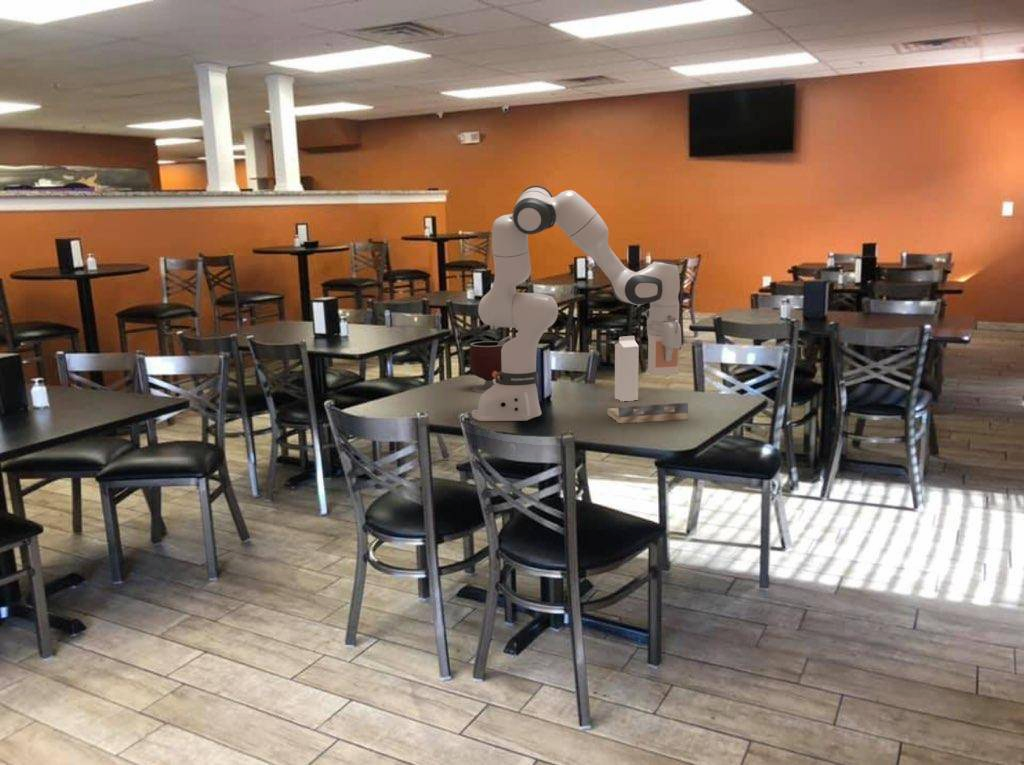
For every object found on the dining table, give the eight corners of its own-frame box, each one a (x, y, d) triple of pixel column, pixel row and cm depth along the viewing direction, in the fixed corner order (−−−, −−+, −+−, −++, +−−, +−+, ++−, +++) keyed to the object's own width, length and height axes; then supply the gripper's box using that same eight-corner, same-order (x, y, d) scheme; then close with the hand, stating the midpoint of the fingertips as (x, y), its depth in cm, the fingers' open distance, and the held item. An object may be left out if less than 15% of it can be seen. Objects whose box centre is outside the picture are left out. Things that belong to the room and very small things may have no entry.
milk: (614, 399, 291) (614, 335, 286) (630, 397, 293) (630, 334, 289) (622, 402, 285) (623, 337, 281) (638, 400, 287) (638, 336, 283)
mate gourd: (468, 393, 304) (467, 338, 300) (472, 386, 317) (470, 333, 313) (511, 393, 303) (510, 338, 299) (513, 385, 317) (512, 333, 313)
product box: (654, 375, 257) (654, 336, 255) (647, 372, 263) (648, 334, 261) (678, 374, 259) (679, 335, 256) (672, 370, 264) (672, 333, 262)
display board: (619, 423, 255) (619, 407, 254) (607, 414, 267) (607, 399, 266) (687, 419, 260) (688, 403, 259) (672, 410, 271) (673, 395, 270)
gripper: (687, 317, 248) (686, 363, 251) (662, 310, 268) (661, 353, 270) (666, 318, 247) (666, 364, 249) (643, 311, 266) (643, 353, 269)
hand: (663, 358), depth 260 cm, fingers closed on product box, 6 cm apart
